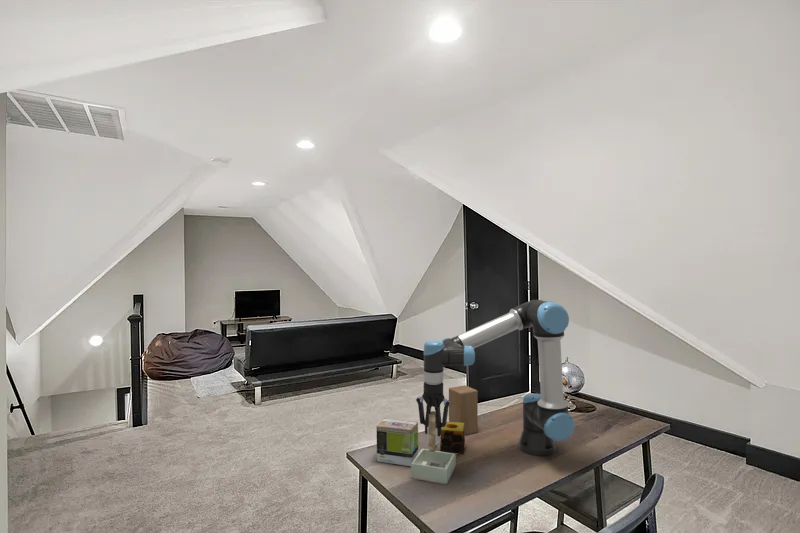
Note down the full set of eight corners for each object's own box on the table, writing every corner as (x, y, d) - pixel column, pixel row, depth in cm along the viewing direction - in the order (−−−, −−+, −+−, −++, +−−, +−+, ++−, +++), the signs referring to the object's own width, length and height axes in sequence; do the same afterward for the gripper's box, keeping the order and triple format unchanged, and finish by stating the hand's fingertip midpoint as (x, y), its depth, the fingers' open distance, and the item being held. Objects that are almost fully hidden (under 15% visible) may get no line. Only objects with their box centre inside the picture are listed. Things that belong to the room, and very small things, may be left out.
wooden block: (448, 429, 208) (448, 387, 207) (465, 425, 212) (465, 384, 212) (460, 436, 199) (460, 393, 198) (478, 432, 203) (477, 390, 203)
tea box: (418, 456, 179) (418, 421, 178) (411, 467, 169) (411, 430, 169) (384, 451, 184) (384, 416, 183) (376, 462, 174) (375, 425, 174)
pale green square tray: (455, 467, 169) (455, 453, 169) (446, 484, 156) (446, 469, 156) (422, 462, 174) (422, 448, 174) (411, 478, 161) (411, 463, 161)
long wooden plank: (437, 448, 166) (437, 411, 166) (434, 452, 162) (434, 415, 162) (431, 447, 167) (431, 411, 167) (428, 451, 163) (428, 414, 163)
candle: (464, 455, 180) (463, 431, 180) (439, 453, 182) (439, 429, 182) (465, 445, 190) (465, 422, 190) (442, 443, 192) (442, 420, 192)
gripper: (455, 381, 165) (455, 442, 166) (417, 377, 171) (416, 436, 171) (450, 386, 158) (450, 450, 158) (411, 382, 164) (410, 444, 164)
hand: (433, 443), depth 165 cm, fingers closed on long wooden plank, 2 cm apart
